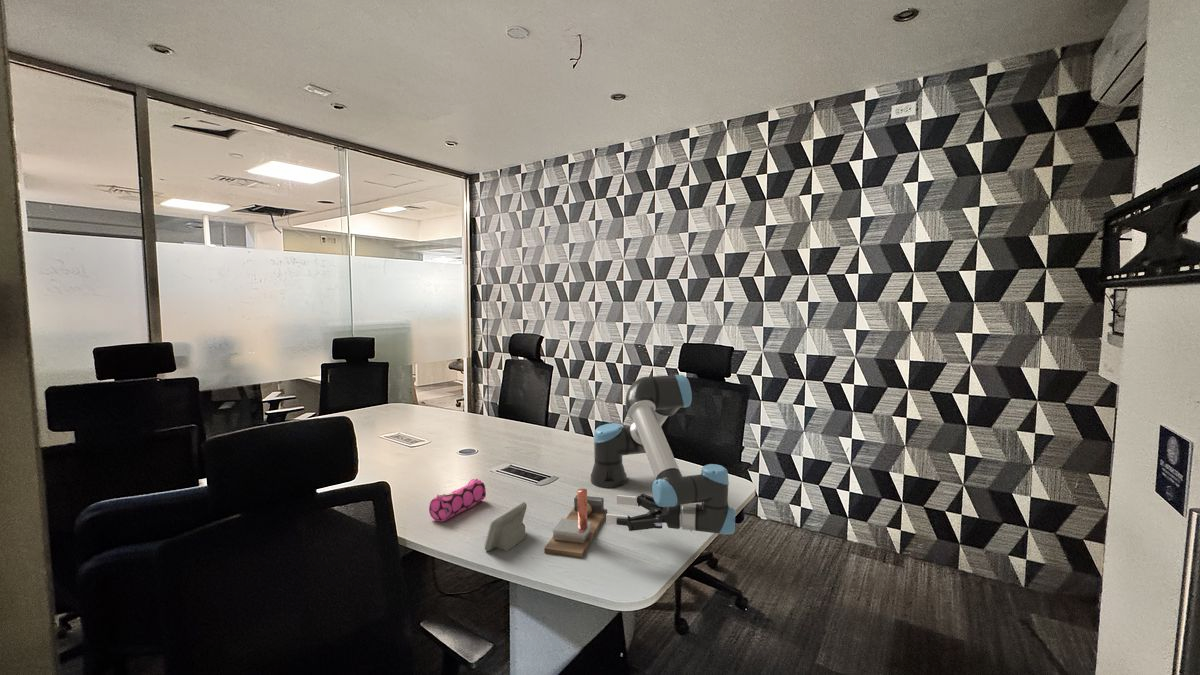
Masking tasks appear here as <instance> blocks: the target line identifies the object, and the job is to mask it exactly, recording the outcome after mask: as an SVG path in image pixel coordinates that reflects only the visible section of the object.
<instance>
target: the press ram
mask: <svg viewBox="0 0 1200 675" xmlns="http://www.w3.org/2000/svg"><path fill="white" fill-rule="evenodd" d="M576 492H577V494H576V496H577V500H578V520H570V519H566V518H561V519H560V520H559V522H558V523H557V524H556V526H554V528H553V529H552V537H553V539H554V540H561V541H569V542H577V543H584V542H585V540H586V539H587V537H588V535H589V534H590V532H591V522H587V496H588V489H586V488H579V489H577V490H576Z"/></svg>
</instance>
